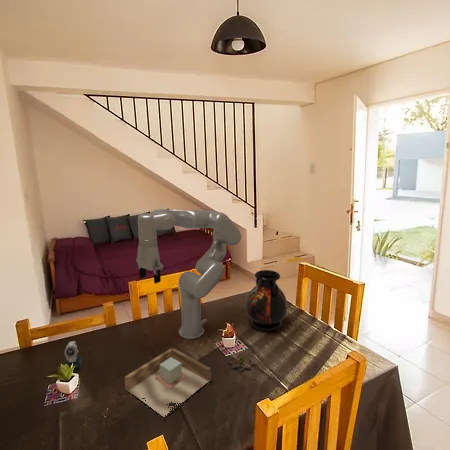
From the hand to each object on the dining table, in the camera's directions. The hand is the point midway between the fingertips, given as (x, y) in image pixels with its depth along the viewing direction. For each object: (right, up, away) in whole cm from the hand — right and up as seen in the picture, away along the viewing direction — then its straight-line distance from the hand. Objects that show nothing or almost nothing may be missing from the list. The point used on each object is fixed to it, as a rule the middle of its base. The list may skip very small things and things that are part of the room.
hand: (150, 279), depth 144 cm
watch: (-31, -36, -6) cm, 47 cm away
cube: (+12, -36, -14) cm, 41 cm away
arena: (+11, -38, -17) cm, 43 cm away
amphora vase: (+54, -28, +28) cm, 67 cm away
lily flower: (+40, -36, -4) cm, 54 cm away
